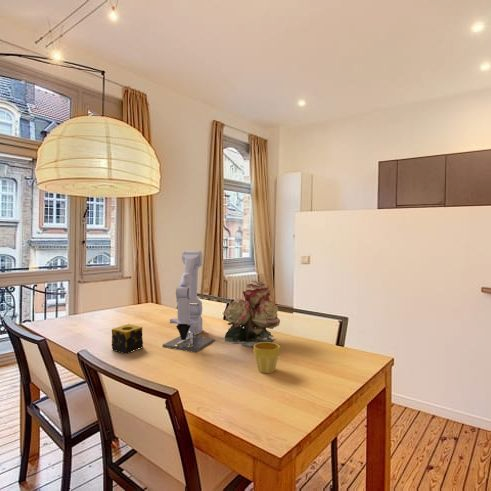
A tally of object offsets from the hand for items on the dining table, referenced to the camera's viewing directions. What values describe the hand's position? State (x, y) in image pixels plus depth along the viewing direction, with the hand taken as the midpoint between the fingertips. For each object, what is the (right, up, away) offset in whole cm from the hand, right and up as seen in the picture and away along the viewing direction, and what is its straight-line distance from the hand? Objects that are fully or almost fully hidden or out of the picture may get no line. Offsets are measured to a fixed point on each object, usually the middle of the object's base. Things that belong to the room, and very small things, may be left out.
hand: (183, 339), depth 169 cm
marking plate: (+2, -3, +3) cm, 5 cm away
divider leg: (+3, -1, +3) cm, 5 cm away
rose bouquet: (+34, -3, +10) cm, 36 cm away
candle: (-25, -3, -5) cm, 26 cm away
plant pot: (+38, -5, -28) cm, 47 cm away
